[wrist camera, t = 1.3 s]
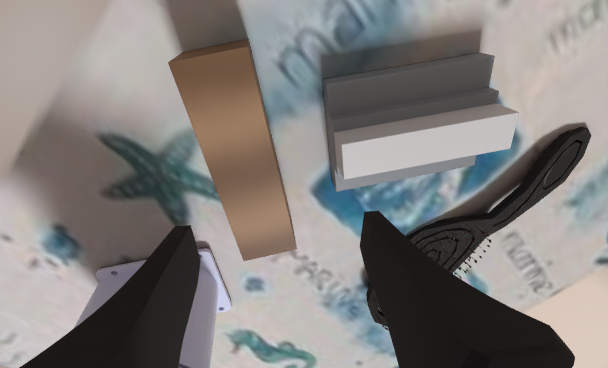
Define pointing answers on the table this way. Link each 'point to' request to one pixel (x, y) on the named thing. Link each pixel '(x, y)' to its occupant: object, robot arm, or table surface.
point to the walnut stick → (237, 144)
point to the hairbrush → (494, 211)
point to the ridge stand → (413, 120)
